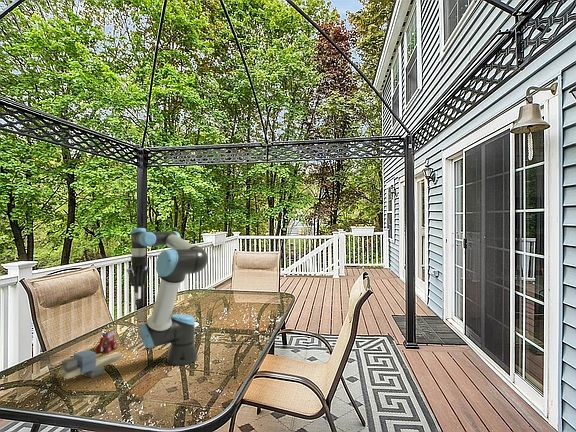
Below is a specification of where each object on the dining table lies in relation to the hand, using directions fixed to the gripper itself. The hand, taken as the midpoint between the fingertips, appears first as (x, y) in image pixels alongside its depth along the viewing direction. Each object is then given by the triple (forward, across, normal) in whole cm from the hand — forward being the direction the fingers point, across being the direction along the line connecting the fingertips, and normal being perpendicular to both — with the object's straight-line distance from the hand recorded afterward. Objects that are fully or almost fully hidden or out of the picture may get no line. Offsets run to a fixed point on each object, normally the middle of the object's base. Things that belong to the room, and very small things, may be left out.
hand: (138, 298), depth 195 cm
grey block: (+26, +33, +8) cm, 43 cm away
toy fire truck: (+30, +8, -16) cm, 35 cm away
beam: (+29, +29, +8) cm, 42 cm away
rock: (+30, +24, -6) cm, 39 cm away
